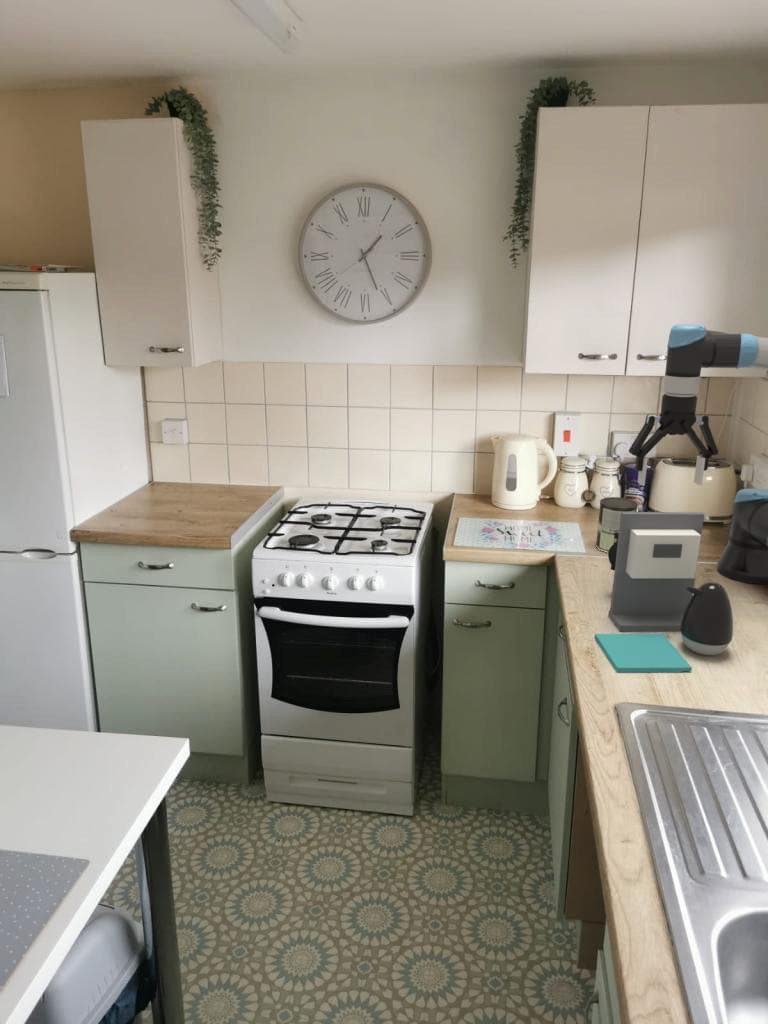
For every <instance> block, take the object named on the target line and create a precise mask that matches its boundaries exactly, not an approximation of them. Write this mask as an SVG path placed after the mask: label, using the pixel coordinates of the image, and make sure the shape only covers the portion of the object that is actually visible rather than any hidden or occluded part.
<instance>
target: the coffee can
mask: <svg viewBox="0 0 768 1024" xmlns="http://www.w3.org/2000/svg"><path fill="white" fill-rule="evenodd" d="M638 505H639V504H638V502H637V501H636V500H633V499H630V498H625V497H616V496H615V497H614V496H612V497H611V496H609V497H604V498H601V499H600V500H599V514H598V515H599V516H598V522H597V523H598V524H597V534H596V543H595V548H596V547H597V548H599V549H600V550H603V551H606V552H609V549H610V547H611V546H612V545H613V544H614V535H615V533H616V532H619V527H620V518H621V512H638V511H637V510H638ZM597 548H596V549H597Z"/></svg>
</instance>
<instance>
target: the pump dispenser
mask: <svg viewBox="0 0 768 1024" xmlns="http://www.w3.org/2000/svg"><path fill="white" fill-rule="evenodd" d="M686 589H687V591H689V592H691V593H693V596H692V598H691V600H690V602H689V603H688V605H687V608H686V610H685V613H684V615H683V619H682V622H681V626H680V634H681V639H682V642H683V643H684V645H685V646H686V647H687V648H688V649H689V650H690V651H692V652H694V653H696V654H699V655H703V656H716V655H718V654H721V653H722V652H724V651H725V650H726V649H727V648H728V647H729V645H730V643H731V642H732V640H733V635H734V619H733V611H732V610H733V609H732V605H731V601H730V598H729V596H728V593H727V591H726V589H725V588H724V587H723V586H722V585H721V584H719V583H717V582H713V581H709V582H705V583H703V584H702V585H700V586H699V587H698V588H697V587H695V586H694V587H691V586H687V588H686Z"/></svg>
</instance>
